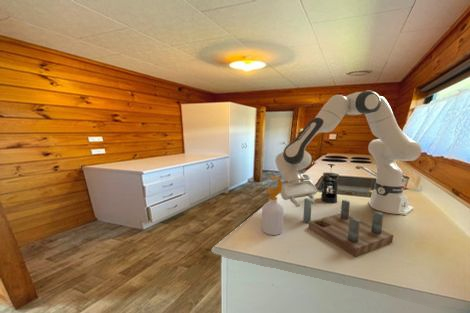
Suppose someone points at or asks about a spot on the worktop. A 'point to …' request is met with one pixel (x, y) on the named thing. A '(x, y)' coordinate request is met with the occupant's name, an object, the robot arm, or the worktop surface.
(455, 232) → the worktop surface
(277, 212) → the white orange spray bottle
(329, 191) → the french press
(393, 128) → the robot arm
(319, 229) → the stool
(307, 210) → the stool leg
